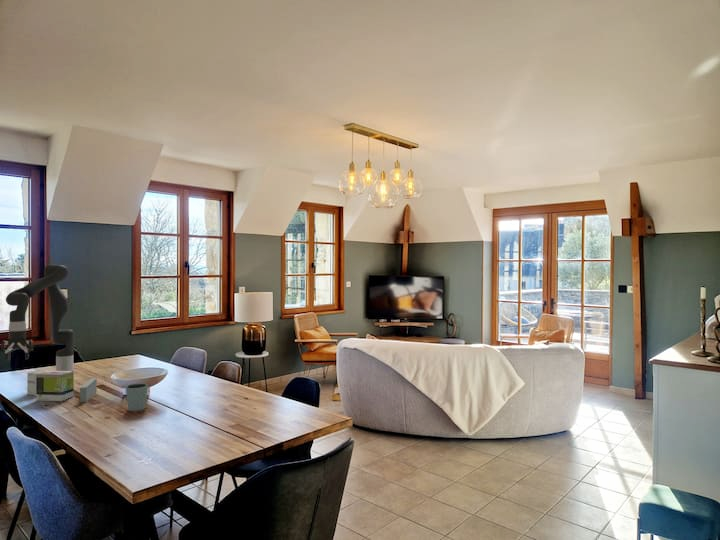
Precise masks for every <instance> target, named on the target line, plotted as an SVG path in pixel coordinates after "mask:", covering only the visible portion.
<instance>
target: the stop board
mask: <svg viewBox="0 0 720 540" xmlns="http://www.w3.org/2000/svg"><path fill="white" fill-rule="evenodd" d="M97 379H98V378H96V377H95V378H93V377H91V378H89V380H87V381H86V382H85V383H84V384H82V385H81V386H80V387H79V403H80V402H82V403H88V402H89V400H90V399H91V398H92V397H93V396H94V395H95V394H96V393H97V391H98V390H97V387H98V385H97V381H98V380H97Z"/></svg>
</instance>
